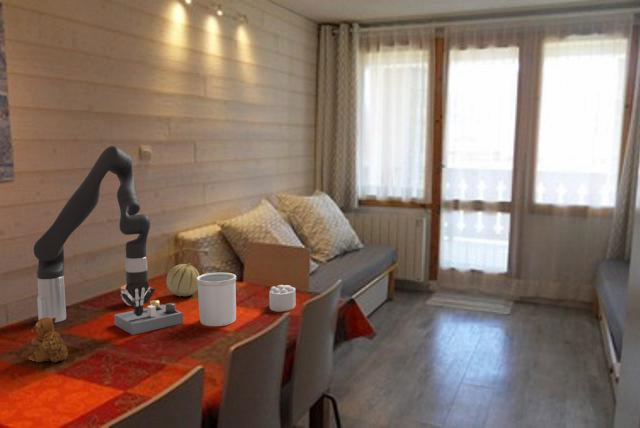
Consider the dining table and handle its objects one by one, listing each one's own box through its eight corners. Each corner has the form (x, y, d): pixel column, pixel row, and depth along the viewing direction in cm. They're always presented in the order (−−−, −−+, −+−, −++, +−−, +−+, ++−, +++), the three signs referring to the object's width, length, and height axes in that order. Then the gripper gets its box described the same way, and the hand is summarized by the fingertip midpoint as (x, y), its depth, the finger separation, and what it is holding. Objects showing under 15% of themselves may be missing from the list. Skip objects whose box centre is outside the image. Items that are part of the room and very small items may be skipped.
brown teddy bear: (56, 349, 184) (54, 311, 183) (78, 359, 176) (76, 319, 174) (25, 358, 177) (22, 318, 175) (46, 369, 168) (43, 327, 166)
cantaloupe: (164, 294, 255) (163, 262, 253) (196, 290, 261) (195, 259, 260) (170, 301, 242) (169, 268, 240) (203, 297, 248) (202, 264, 246)
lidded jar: (142, 307, 234) (141, 285, 233) (117, 307, 234) (116, 285, 233) (150, 300, 244) (150, 279, 243) (126, 300, 244) (125, 279, 243)
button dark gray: (168, 313, 210) (168, 305, 209) (164, 311, 212) (163, 304, 212) (177, 311, 212) (176, 304, 212) (172, 309, 215) (172, 302, 214)
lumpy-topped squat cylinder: (297, 303, 238) (297, 283, 237) (290, 312, 225) (290, 291, 224) (274, 302, 240) (273, 282, 239) (265, 311, 227) (265, 290, 226)
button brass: (152, 310, 214) (152, 303, 213) (148, 308, 216) (148, 301, 216) (161, 308, 216) (161, 301, 216) (157, 306, 219) (156, 299, 219)
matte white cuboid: (151, 317, 205) (150, 307, 205) (147, 315, 207) (147, 306, 207) (156, 315, 207) (155, 306, 206) (152, 314, 209) (152, 305, 208)
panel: (132, 335, 198) (132, 323, 198) (114, 324, 210) (114, 314, 210) (183, 323, 212) (182, 312, 211) (163, 314, 223) (163, 304, 223)
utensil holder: (229, 328, 205) (228, 281, 203) (191, 326, 208) (190, 280, 206) (242, 316, 220) (241, 273, 218) (207, 314, 223) (206, 271, 221)
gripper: (123, 273, 195) (125, 321, 197) (158, 268, 204) (160, 314, 206) (114, 270, 200) (116, 317, 202) (149, 265, 209) (150, 309, 211)
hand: (138, 315), depth 204 cm, fingers closed
